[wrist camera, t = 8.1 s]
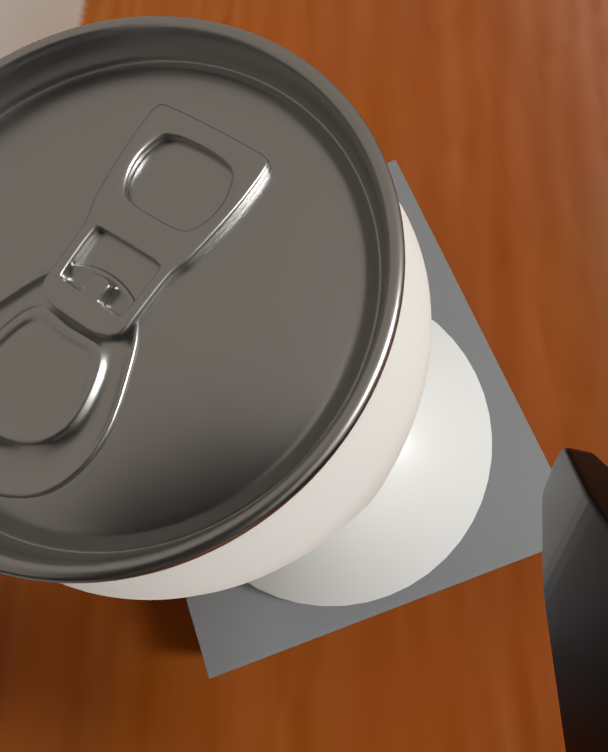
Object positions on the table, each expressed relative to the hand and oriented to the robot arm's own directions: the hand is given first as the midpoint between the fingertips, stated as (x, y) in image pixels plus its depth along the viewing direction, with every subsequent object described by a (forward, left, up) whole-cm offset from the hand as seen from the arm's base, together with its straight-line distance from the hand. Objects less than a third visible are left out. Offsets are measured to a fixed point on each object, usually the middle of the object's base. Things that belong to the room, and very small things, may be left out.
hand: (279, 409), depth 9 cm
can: (+1, +1, -8) cm, 8 cm away
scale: (+2, 0, -11) cm, 11 cm away
